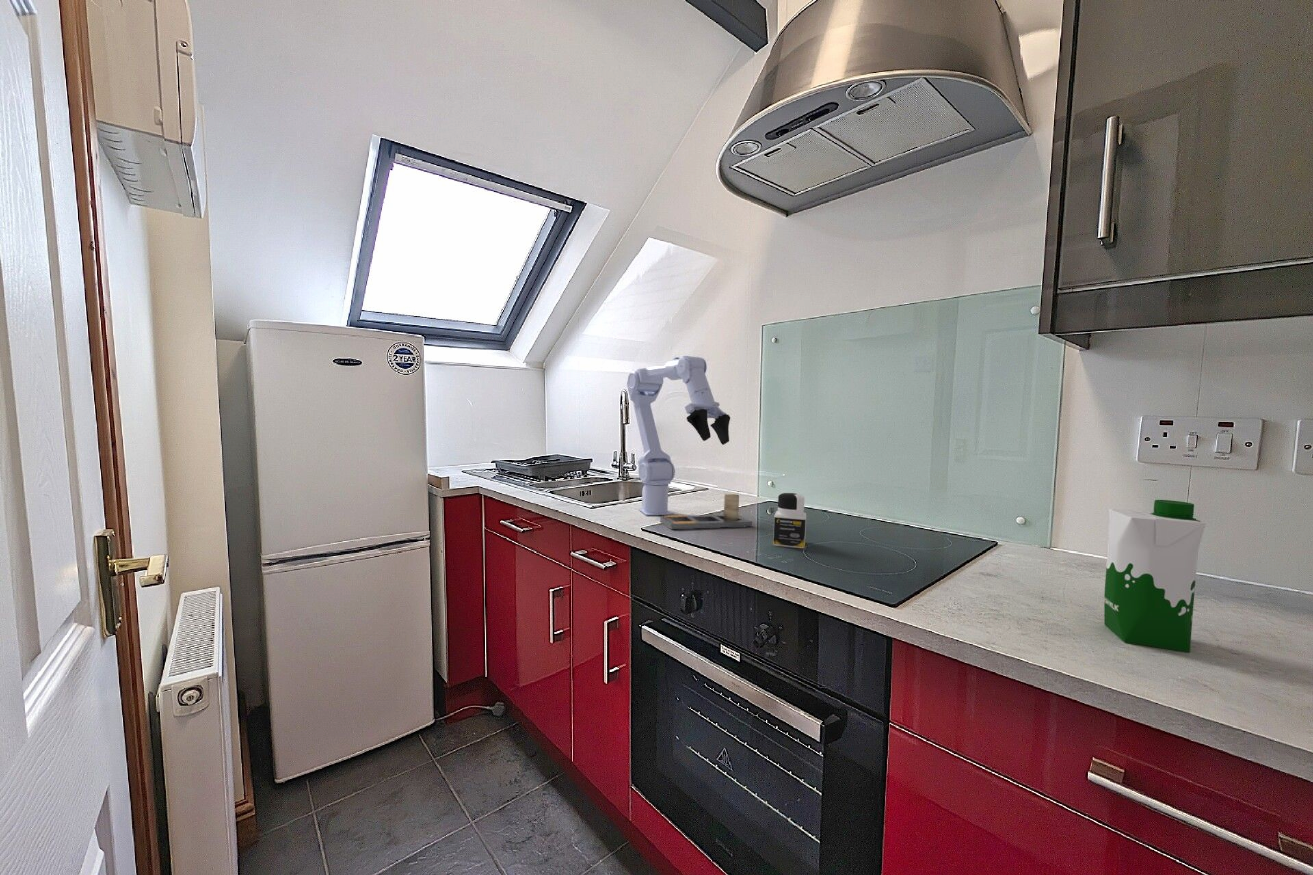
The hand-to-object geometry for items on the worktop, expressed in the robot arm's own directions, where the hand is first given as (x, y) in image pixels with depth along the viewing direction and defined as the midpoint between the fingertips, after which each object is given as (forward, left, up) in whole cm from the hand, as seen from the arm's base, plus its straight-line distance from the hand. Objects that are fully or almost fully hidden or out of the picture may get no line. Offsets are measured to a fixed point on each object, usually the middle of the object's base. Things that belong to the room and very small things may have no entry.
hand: (716, 441), depth 132 cm
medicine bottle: (+12, +14, -24) cm, 31 cm away
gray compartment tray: (-11, +2, -24) cm, 26 cm away
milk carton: (+70, +38, -24) cm, 84 cm away
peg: (-11, +9, -24) cm, 28 cm away
